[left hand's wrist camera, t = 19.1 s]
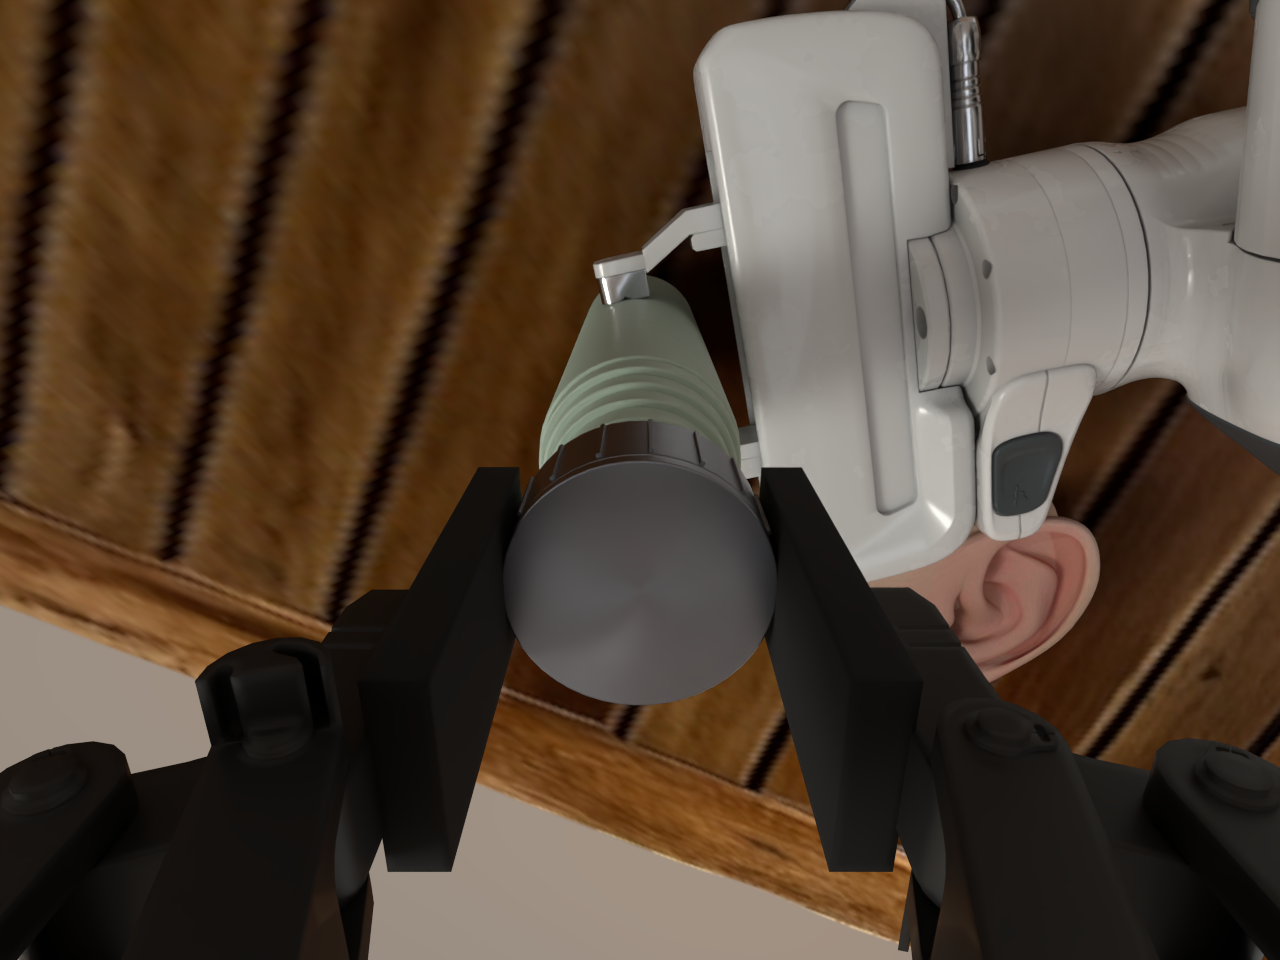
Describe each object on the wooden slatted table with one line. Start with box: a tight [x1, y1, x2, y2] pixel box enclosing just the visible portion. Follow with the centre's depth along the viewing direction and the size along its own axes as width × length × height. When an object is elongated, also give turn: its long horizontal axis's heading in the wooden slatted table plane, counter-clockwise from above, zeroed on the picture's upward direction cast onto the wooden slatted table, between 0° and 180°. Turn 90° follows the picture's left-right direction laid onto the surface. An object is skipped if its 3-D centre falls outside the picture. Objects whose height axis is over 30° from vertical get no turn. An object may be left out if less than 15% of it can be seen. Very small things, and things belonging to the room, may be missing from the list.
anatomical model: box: [867, 502, 1100, 683], centre depth 37 cm, size 13×4×12 cm
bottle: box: [539, 276, 741, 470], centre depth 24 cm, size 5×5×23 cm
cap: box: [502, 419, 778, 705], centre depth 14 cm, size 5×5×2 cm
